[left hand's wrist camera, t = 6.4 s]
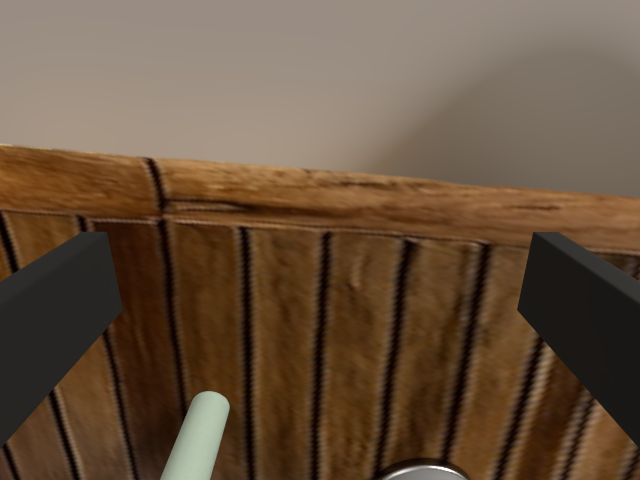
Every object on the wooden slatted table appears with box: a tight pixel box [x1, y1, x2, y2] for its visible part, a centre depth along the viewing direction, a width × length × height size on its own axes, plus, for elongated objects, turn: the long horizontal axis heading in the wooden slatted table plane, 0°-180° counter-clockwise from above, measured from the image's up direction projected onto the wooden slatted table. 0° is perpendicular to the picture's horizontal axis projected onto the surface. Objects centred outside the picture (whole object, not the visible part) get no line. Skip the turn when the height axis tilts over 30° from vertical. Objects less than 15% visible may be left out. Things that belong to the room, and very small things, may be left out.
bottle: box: [160, 391, 230, 480], centre depth 42 cm, size 5×5×17 cm
